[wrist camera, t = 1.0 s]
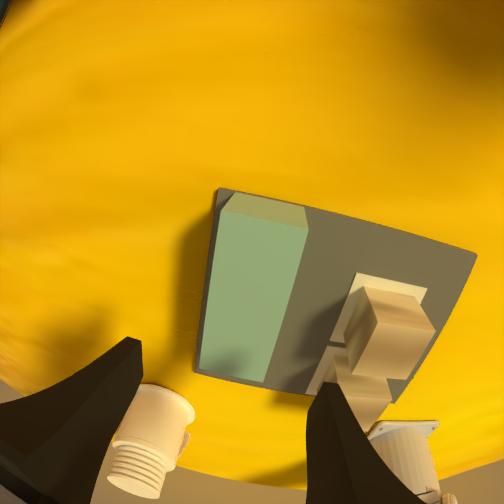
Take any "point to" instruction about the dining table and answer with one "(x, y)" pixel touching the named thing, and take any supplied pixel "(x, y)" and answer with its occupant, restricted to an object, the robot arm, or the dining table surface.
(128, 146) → the dining table surface
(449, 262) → the mat
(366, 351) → the pillar
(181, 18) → the dining table surface
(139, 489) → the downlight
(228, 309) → the lintel
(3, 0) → the soda can
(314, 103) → the dining table surface
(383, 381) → the wooden cube
